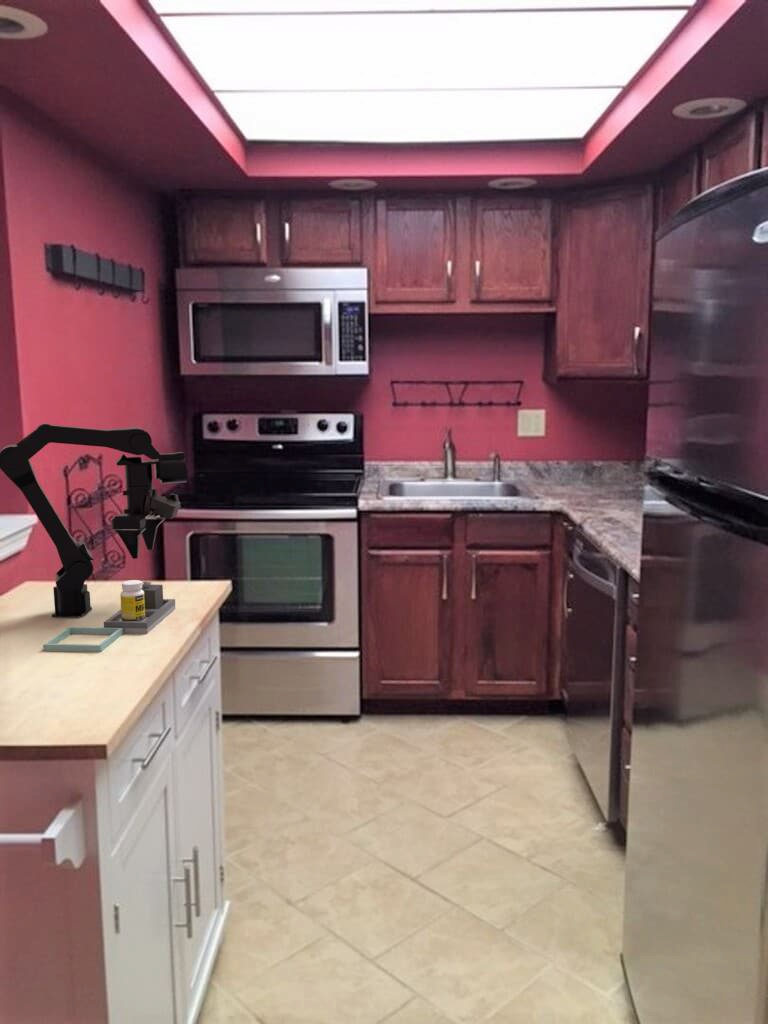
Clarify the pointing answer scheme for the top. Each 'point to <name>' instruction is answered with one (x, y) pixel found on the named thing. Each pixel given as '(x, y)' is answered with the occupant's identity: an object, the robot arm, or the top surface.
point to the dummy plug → (152, 595)
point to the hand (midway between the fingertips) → (142, 554)
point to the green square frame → (53, 645)
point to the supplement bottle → (132, 601)
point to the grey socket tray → (151, 621)
